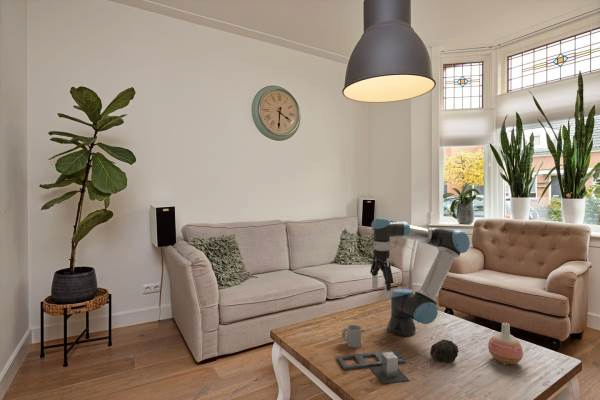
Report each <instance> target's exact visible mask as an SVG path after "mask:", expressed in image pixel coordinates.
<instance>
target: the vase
mask: <svg viewBox="0 0 600 400" xmlns="http://www.w3.org/2000/svg"><path fill="white" fill-rule="evenodd" d="M510 330H511V325H510V323H507V322H502V323H501V331H500V332H497V333H495V334H493V335H492V336H491V337H490V339H489V341H488V342H487V343H488V344H487V348H488V351H489V354H490V355H491V356H492V357H493V358H494V359H495V360H496V362H498V361H499V362H498V363H500V362H502V363H505V364H513V365H515V364H518V363H519V362H520V361H521V360H522V359H523V356H524V351H523V347H522V344H521V343H520V341H519V340H518V339H517V338H516V337H515V336H514V335H512V334H511V331H510ZM502 363H501V364H502ZM505 364H504V365H505Z"/></svg>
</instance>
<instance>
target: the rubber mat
mask: <svg viewBox="0 0 600 400" xmlns="http://www.w3.org/2000/svg"><path fill="white" fill-rule="evenodd" d="M369 368H370V370H371V371H372V373H373V374H374V375H375V376H376V378H377V379H378V380H379V382H380V383H381V384H382V385H389V384H396V383H403V382H410V379H409V378H408V377H407V376H406V375H405V374H404V373H403V371H402V370H401V369H400V368H399V367H398V376H395V377H386V376H385V375H384V374H383V373H382V371H381V366H376V367H369Z"/></svg>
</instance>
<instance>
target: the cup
mask: <svg viewBox="0 0 600 400" xmlns="http://www.w3.org/2000/svg"><path fill="white" fill-rule="evenodd" d="M341 338H342V340H343V341H344V342H346V345H347V347H349V348H352V349H358V348H361V346H362V327H361V325H357V324H349V325H347V327H346V328H345V327H344V329H342V332H341Z"/></svg>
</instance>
